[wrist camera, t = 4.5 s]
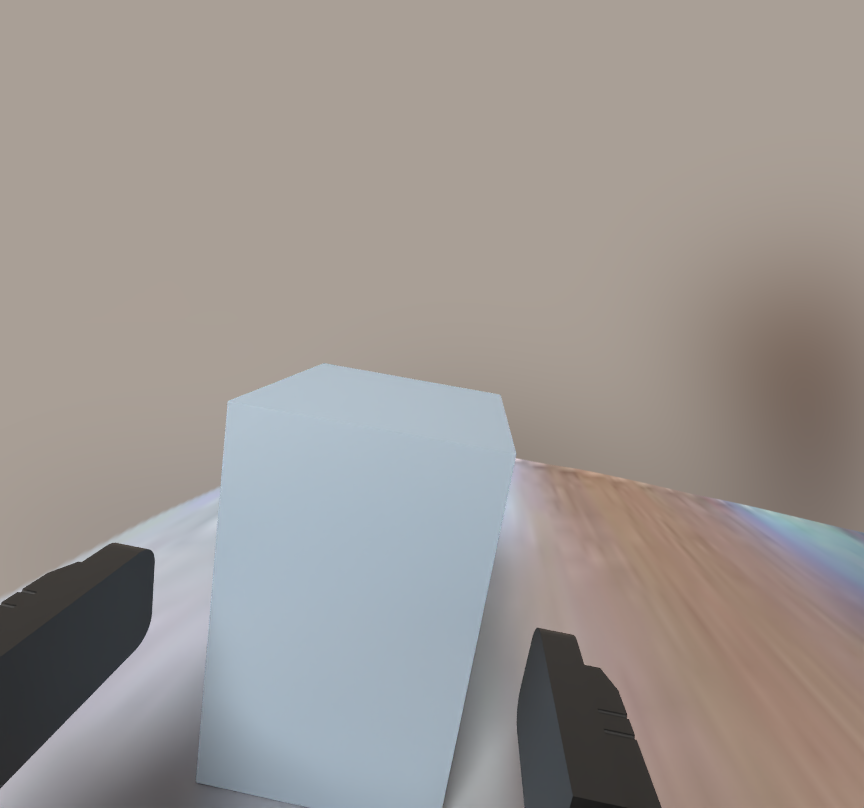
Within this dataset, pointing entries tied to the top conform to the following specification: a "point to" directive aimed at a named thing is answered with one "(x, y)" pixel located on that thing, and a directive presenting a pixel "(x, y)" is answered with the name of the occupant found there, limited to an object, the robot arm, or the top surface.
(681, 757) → the top surface
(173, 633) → the top surface
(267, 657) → the tall pale blue box
